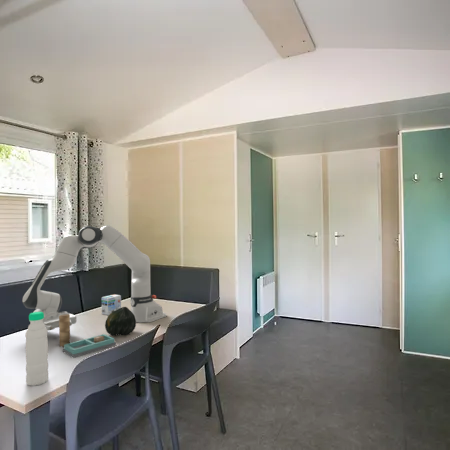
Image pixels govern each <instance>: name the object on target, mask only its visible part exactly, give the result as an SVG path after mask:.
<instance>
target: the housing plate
mask: <svg viewBox="0 0 450 450" xmlns="http://www.w3.org/2000/svg"><path fill="white" fill-rule="evenodd" d="M114 346H117V342H116V341H115V338H114V337H111V335H110V336H109V335H108V334H104V333H103V334H100V335H94V336H93V337H88V338H85V339H80V340H77V341H73V342H72V341H71V342H70V343H69V344H65V345H64V347H62V352H63V353H64V352H65V353H64V354H66V355H68V356H69V357H71V358H77V357H80V356H84V355H87V354H91V353H94V352H98V351H100V350H103V349H107V348H110V347H114Z"/></svg>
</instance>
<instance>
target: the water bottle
mask: <svg viewBox="0 0 450 450" xmlns="http://www.w3.org/2000/svg"><path fill="white" fill-rule="evenodd" d="M43 318H44V313H43V312H34V311H33V312H30V313H29V315H28V321H29V322H30V324H28V325H29V327H27V330H26V332H25V360H26V366H25V372H26V375H25V383H26V385H27V386H31V387H35V386H39V385H43V384H45V383H46V382H47V381H49V360H48V359H49V354H48V353H49V339H48V332H49V331H48V330H47V328H46V327H45V325H44V323H43Z"/></svg>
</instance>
